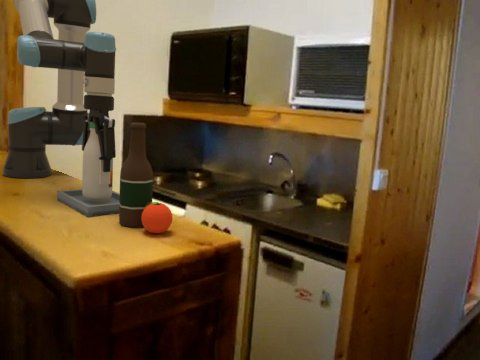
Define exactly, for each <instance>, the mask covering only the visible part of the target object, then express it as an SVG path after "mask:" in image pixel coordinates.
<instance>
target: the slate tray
mask: <svg viewBox="0 0 480 360" xmlns="http://www.w3.org/2000/svg"><path fill="white" fill-rule="evenodd" d="M119 197H120V192H116V191H114V190H112V196H111V197H109V198H102V199H93V198H86V197H84V196H83V194H82V189H69V190H58V191H56V198H57V199H56V200H57V201H58V202H60V203H61V204H63V203H64V205H65V206H67V207H69V208H70V209H72V208H73V210H74V209H75V210H74V211H76V212H78V213H80V214H81V215H83V216H85V217H87V218H92V217H99V216H109V215H115V214H116V215H119Z"/></svg>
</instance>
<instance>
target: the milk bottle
mask: <svg viewBox="0 0 480 360" xmlns="http://www.w3.org/2000/svg"><path fill="white" fill-rule="evenodd" d="M89 126H90V129H89V130H90V136H89V139H88V141H87V143H86V145H85V148H84V151H82V153H83V154H82V179H81V180H82V181H81V182H82V183H81V184H82V194H83V196H84V197H86V198H93V199H102V198H109V197H111V196H112V191H113V183H114V182H113V178H114V177H113V175H114V174H113V173H114V172H113V171H114V170H113V169H114V164H113V163H114V158H112V159H111V169H110V184H101V185H100V184H99V166H100V160H99V158H100V157H101V151H100V145H99V139H98V135H97V134H96V132H95V124H94V123H93V122H90V125H89Z"/></svg>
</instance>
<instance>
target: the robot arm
mask: <svg viewBox="0 0 480 360" xmlns="http://www.w3.org/2000/svg"><path fill="white" fill-rule="evenodd" d="M13 5H14V8H15V11H16V12H17V14H18V15H19V19H20V25H21V30H22V35H19V36H18V37H17V40H16V52H17V53H16V54H17V56H16V57H17V62H18V63H19V64H20V65H22V66H28V67H32V68H42V69H43V68H45V69H55V70H56V69H57V97H56V102H55V103H54V104H53V105H52V108H51V109H52V111H48V110H47V109H46V107H44V106H29V107H19V108H18V107H17V108H12V109H10V110H9V111H8V115H7V122H6V123H7V126H8V127H7V128H8V129H7V132H8V133H7V134H8V136H7V137H8V138H7V139H8V141H7V143H8V148H7V149H8V151H7V156H6V159H5V161H4V164H3V167H2V175H3V176H5V177H6V178H7V177H8V178H14V179H15V178H16V179H37V178H45V177H50V176H51V175H52V166H51V165H50V162H49V161H50V160H49V159H48V156H47V152H46V146H49V145H50V146H56V145H57V146H72V147H74V146H81V151H82V152H84V148H85V145H86V143H87V141H88V139H89V136H90V130H89V129H90V126H89V125H90V122H93V123H94V124H95V132H96V134H97V135H98V139H99V145H100V151H101V157H100V158H99V160H100V166H99V184H100V185H101V184H110V169H111V159H112V158H113V159H115V158H116V156H117V155H116V153H117V152H116V136H115V135H116V134H115V133H116V132H115V127H116V120H115V119H114V118H110V114H109V113H110V112H112V111H114V109H115V98H114V96H113V95H115V84H116V81H115V76H116V73H115V72H116V51H117V47H116V38H115V36H114V35H113V34H111V33H107V32H101V31H90V30H91V26H92V25H95V23H96V22H97V4H96V0H13ZM50 19H53V26H54V27H56V29H57V31H58V39H55V38H54V35H53V31H52V27H51V24H50ZM84 93H86V94H84ZM88 111H89V112H88Z"/></svg>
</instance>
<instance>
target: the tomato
mask: <svg viewBox="0 0 480 360" xmlns="http://www.w3.org/2000/svg"><path fill="white" fill-rule="evenodd" d="M148 204H150V203H148ZM148 204H146V206H147V205H148ZM146 206H145V209H144V210H143V212H142V216H141V220H142V224H143V226H144V227H143V228H144V229H145V230H146V231H148V233H152V234H163V233H164V232H165V231H168V229H169V228H170V227H171V225H172V224H173V213H172V210H171V209H170V208H169V207H168V206H167V205H166V204H164V203H162V202H158V201H152V202H151V204H150V205H148V206H147V207H146Z"/></svg>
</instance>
